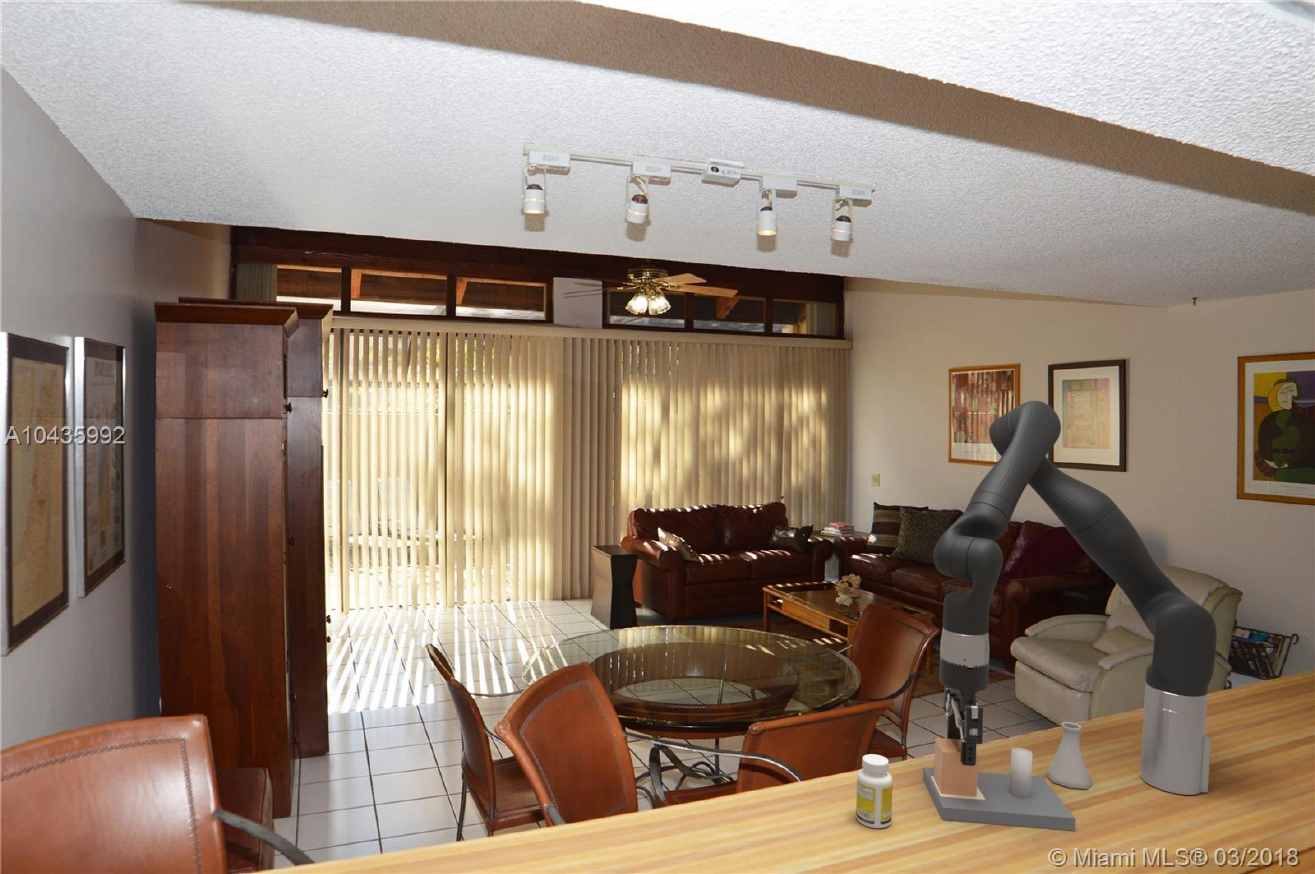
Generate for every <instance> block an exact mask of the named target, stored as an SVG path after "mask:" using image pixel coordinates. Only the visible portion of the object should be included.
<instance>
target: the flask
mask: <svg viewBox="0 0 1315 874" xmlns="http://www.w3.org/2000/svg"><path fill="white" fill-rule="evenodd" d="M1060 726H1061V728H1062V736H1061V740H1060V743H1059V746H1058V748H1057V751H1056V753H1055V755H1054V757H1053V760H1052V761H1051V764H1050V766H1049V768H1048V769H1047V771H1046V776H1047V778H1048V779H1049V780H1050V782H1052V783H1054V784H1057V785H1061V786H1063V787H1066V788H1069V789H1080V790H1081V789H1083V790H1088V789H1089V788H1090V787H1091V786H1092V784H1093V783H1092V780H1091V777H1090V773H1089V769H1088V768H1087V764H1086V762H1085V757H1084V755H1083V751H1082V748H1081V741H1080V740H1081V739H1080V732H1081V731H1082V726H1081V725H1080V724H1078V723H1075V722H1070V721H1063V722H1061V725H1060Z"/></svg>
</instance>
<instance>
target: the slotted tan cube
mask: <svg viewBox="0 0 1315 874" xmlns="http://www.w3.org/2000/svg"><path fill="white" fill-rule="evenodd" d="M934 739H935V740H934V741H935V742H934V744H935V745H934V765H933V768H934V780H935V782H936V784H937V786H938V789H939V791H940V793H941V794H948V795H959V796H970V797H977V778H978V772H979V753H978V751H977V750H976V764H975V765H974V766H966V765H963V764H962V763H961V761H960V758H961V740H957V739H947V738H944V737H942V738H941V737H935V738H934Z"/></svg>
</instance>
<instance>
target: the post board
mask: <svg viewBox="0 0 1315 874" xmlns="http://www.w3.org/2000/svg"><path fill="white" fill-rule="evenodd" d="M1009 772H1010V773H998V772H985V771H983V772H982V771H978V778H977V797H970V796H959V795H948V794H941V793H940V791H939V789H938V786H937V784H936V782H935V780H934V767H922V780H923V783H924V785H925V786H926V788H927V791H928V793H929V795H930V796H931V800H932V801H933V803H934V805H935V807H936V810H937V812H938V814H939V816H940V818H941V820H943V821H951V822H954V821H955V822H965V823H966V822H967V823H974V824H975V823H976V824H987V825H988V824H990V825H999V826H1000V825H1001V826H1013V827H1024V828H1035V829H1048V830H1049V829H1050V830H1059V831H1060V830H1061V831H1062V830H1063V831H1073V832H1074V831H1075V832H1076V817H1075V815H1073V813H1072V812H1071V811H1070V809H1068V807H1067V806H1066V805H1065V804H1064V802H1063V800H1061V798H1060V797H1059V796H1058V795H1057V793H1056V792H1055V791H1054V789H1052V787H1051V786H1050V784H1049V783H1048V782H1047V781H1046V780H1045V778H1044V777H1043V776H1036V775H1035V776H1034V775H1032V774H1033V773H1032V772H1033V752H1032V751H1031V750H1029V749H1027V748H1022V747H1012V748H1011V751H1010V770H1009Z"/></svg>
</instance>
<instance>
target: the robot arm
mask: <svg viewBox="0 0 1315 874" xmlns="http://www.w3.org/2000/svg"><path fill="white" fill-rule="evenodd" d="M1061 432H1062V424H1061V420H1060V417H1059V415H1058V414H1057V412H1056V411H1055V410H1054V409H1053V407H1051V406H1050V405H1049V404H1048V403H1045V402H1043V401H1040V400H1030V401H1026V402H1023V403H1021V404H1019V405H1017V406H1016V407H1014V408H1013V409H1010V411H1008V412H1006V413H1005V414H1003V415H1001V416H1000V417H997V418H996V419H995V420H994V421H993V422H991V424H990V426H989V430H988V434H989V438H990V441H991V444H992V445H993V447H994V449H995V451H996V452H997V453H998V454H999V455H1000V456H1001V457H1000V459H999V460H998V461H997V462H996V463H995V464H994V465H993V467H992V468H991V469H990V470H989V471H988V473H987V474H986V475H985V476H984V477H983V478H982V480H981V481H980V482H979V484H978V486H977V487H976V488H975V490H974V492H973V494H972V496H971V499H970V501H969V502H968V504H967V506H966V509H965V510H964V513H963V514H962V515H960V516H959V517H958V518H957V519H956V520H955V522H953V523H952V524H951V525H950V526H949V527H948V528H947V529H946V530H945V531H944V532H943V533H942V535H940V537H939V539H938V540H937V542H936V545H935V547H934V550H933V557H932V558H933V562H934V566H935V568H936V570H937V571H938V572H939V573H940V574H941V575H944V576H947V577H951V578H956V579H963V580H969V581H973V583H972V587H971V589H970V590H967V591H966V590H965V591H963V590H962V591H960V590H959V591H952V592H949V593H947V594H946V595H945V597H944V598H943V610H942V611H943V612H942V631H941V637H940V645H939V647H940V652H939V673H938V675H939V677H938V678H939V682H940V683H941V684H942V685H943V686H944V687H943V688H944V689H943V690H944V691H943V707H942V710H943V712H945V719H946V721H947V722H946V723H947V725H946V739H957V740H961V758H960V761H961V763H962V764H963V765H966V766H974V765H975V764H976V751H977V745H982V744H983V742H984V741H983V730H984V729H983V725H984V724H983V723H984V722H983V721H984V719H983V718H984V707H983V706H982V705H979V701H978V699H977V696H976V694H977V693H978V692H984V690H986V689H987V688H988V687H989V686H988V685H989V666H990V665H989V663H990V642H989V641H990V640H989V620H990V607H991V601H992V598H993V595H994V591H995V588H996V586H997V582H998V580H999V576H1000V575H1001V572H1002V568H1003V565H1004V564H1003V563H1004V555H1003V551H1002V549H1001V547H1000V545H999V544H998V543H997V542H996V541H995V540H998V539H1000V538H1002V536H1003V535H1004V534H1005V532H1006V530H1007V527H1008V526H1009V523H1010V521H1011V518H1012V517H1013V514H1014V512H1015V509H1016V508H1017V507H1016V506H1017V505H1018V503H1019V500H1020V499H1021V497H1022V495H1023V493H1024V490H1026V487H1027V485H1029V487H1031V488H1032V489H1033V490H1034V491H1035V493H1036V494H1037V495H1038V496H1039V497H1040V498H1041V500H1042V501H1043V502H1044V503H1045V504H1046V506H1048V508H1049V510H1051V511H1052V512H1053V513H1054V515H1055V516H1056V517H1057V518H1058V519H1059V521H1060V522H1061V523H1062V524H1063V526H1064V527H1065V529H1066V530H1067V531H1068V533H1069V534H1070V535H1071V536H1072V538H1073V539H1074V540H1075V541H1076V543H1077V544H1078V545H1079V546H1080V548H1082V550H1084V552H1085V553H1086V554H1087V556H1089V558H1091V560H1092V561H1094V563H1096V565H1097V566H1098V567H1099V568H1100V569H1101V570H1102V571H1103V572H1105V573H1106V575H1107V576H1109V577H1110V579H1112V580H1113V581H1114V582H1115V583H1116V584H1117V586H1119V587H1118V588H1120V589H1121V590H1122V591H1123V593H1124V595H1126V598H1127V599H1128V601H1129V602H1130V603H1131V605H1132V606H1133V608H1134V609H1135V611H1137V614H1138V615H1139V617H1140V618H1141V620H1142V622H1143V623H1144V625H1145V627H1146V628H1147V629H1148V631H1149V632H1150V634H1151V635H1152V636H1153V639H1154V640H1153V650H1152V652H1153V653H1152V660H1151V663H1150V664H1149V665H1148V666H1147V668H1146V669H1145V670H1146V671H1145V685H1144V686H1145V687H1144V704H1143V724H1142V741H1141V742H1142V743H1141V744H1142V745H1141V756H1140V757H1141V759H1140V778H1141V779H1142V780H1143V781H1144V782H1145V783H1146V784H1148V785H1150V786H1151V787H1154V788H1156V789H1158V790H1161V791H1165V792H1168V793H1172V794H1176V795H1177V794H1178V795H1186V796H1188V795H1189V796H1191V795H1192V796H1193V795H1198V794H1200V793H1207V794H1208V793H1209V777H1210V760H1211V759H1210V757H1211V742H1212V741H1211V738H1210V737H1209V736H1208V735H1206V732H1207V731H1206V726H1207V712H1208V711H1207V710H1208V709H1207V708H1208V694H1209V685H1210V683H1211V681H1212V679H1213V675H1214V670H1215V661H1216V660H1215V659H1216V651H1217V636H1218V634H1217V633H1218V632H1217V625H1216V621H1215V618H1214V617H1213V615H1212V614H1211V612H1209V610H1207V608H1205V607H1204V606H1202V605H1201V604H1200V603H1197V601H1195V600H1193V599H1192V598H1190V597H1189V596H1187V595H1186V594H1185V593H1184V592H1183V591H1182V590H1181V589H1180V588H1179V587H1178V586H1177V585H1176V584H1175V583H1173V581H1172V580H1171V579H1170V578H1169V577H1168V576H1167V575H1166V574H1165V573H1164V572H1163V571H1162V570H1161V568H1160V567H1159V566H1158V565H1157V563H1156V562H1155V561H1154V559H1153V558H1152V555H1151V554H1150V552H1149V550H1148V549H1147V547H1146V545H1145V543H1144V541H1143V539H1142V538H1141V536H1140V534H1139V532H1138V531H1137V529H1136V528H1135V526H1134V525H1133V524H1132V522H1131V521H1130V520H1129V518H1128V517H1127V516H1126V514H1125V513H1124V512H1123V511H1122V510H1121V508H1119V507H1118V505H1117V504H1116V503H1115V502H1114V501H1113V500H1112V499H1111V497H1109V496H1108V495H1107V494H1106V493H1104V492H1103V491H1101V490H1099V489H1097V488H1095V487H1093V486H1092V485H1089V484H1088V483H1084V482H1083V481H1081V480H1078V479H1076V478H1074V477H1073V476H1070V475H1069V474H1067V473H1065V472H1064V471H1062V470H1060V469H1059V468H1058V467H1057V466H1056V465H1055V464H1053V462H1052V461H1050V459H1049V458H1048V457H1047V455H1048V453H1049V452H1050V451H1051V449H1052V448H1053V447H1054V445H1055V444H1056V443H1057V441H1058V440H1059V438H1060V435H1061ZM970 730H972V734H970V733H971V731H970Z"/></svg>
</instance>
